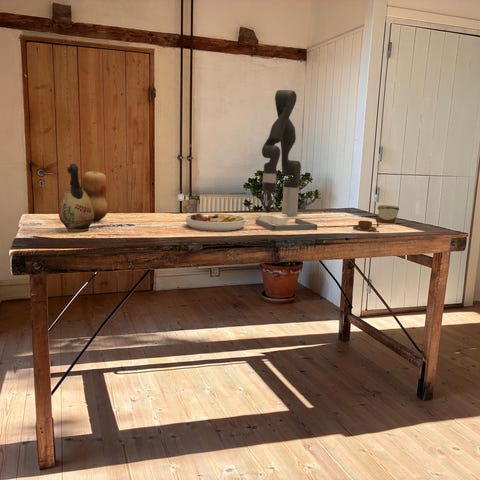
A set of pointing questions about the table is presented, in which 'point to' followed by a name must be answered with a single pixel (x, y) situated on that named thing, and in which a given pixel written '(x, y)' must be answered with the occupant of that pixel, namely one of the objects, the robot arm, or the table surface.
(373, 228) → the place setting
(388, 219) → the food container
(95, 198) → the brown hourglass-shaped piece
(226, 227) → the bowl
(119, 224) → the table surface
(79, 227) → the ceramic jug
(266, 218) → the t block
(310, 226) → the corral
